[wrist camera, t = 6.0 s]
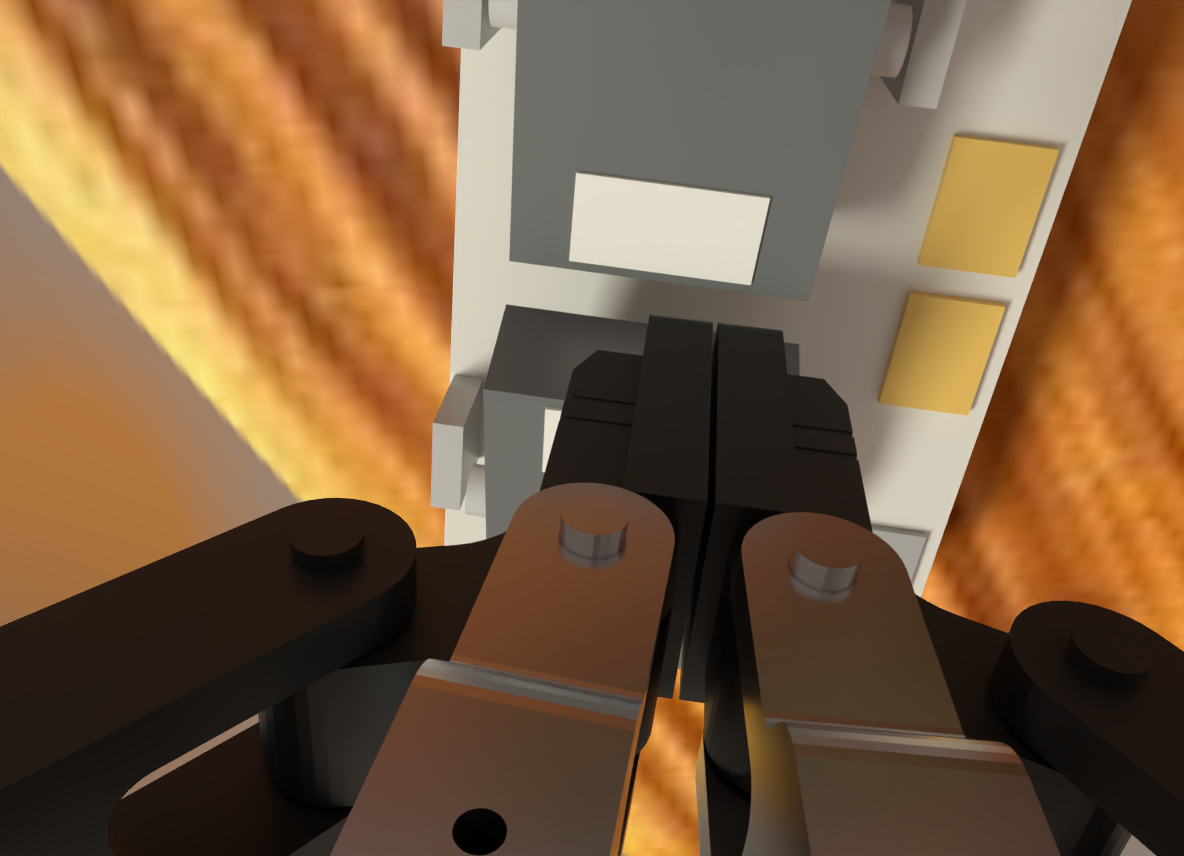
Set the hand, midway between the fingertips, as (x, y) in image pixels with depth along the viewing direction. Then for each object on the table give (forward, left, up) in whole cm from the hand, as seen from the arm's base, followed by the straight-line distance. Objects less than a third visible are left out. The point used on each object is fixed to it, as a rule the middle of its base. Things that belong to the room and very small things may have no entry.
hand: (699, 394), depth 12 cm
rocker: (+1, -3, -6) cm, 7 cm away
